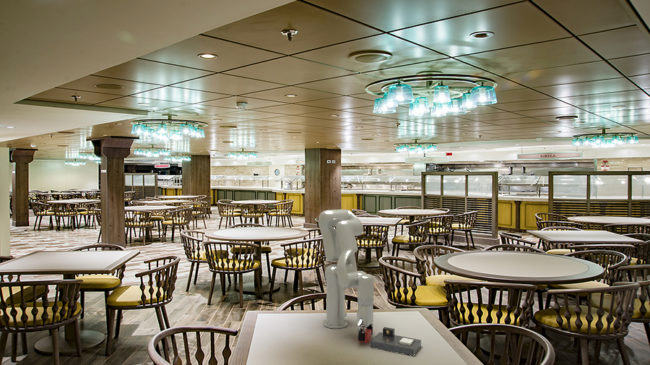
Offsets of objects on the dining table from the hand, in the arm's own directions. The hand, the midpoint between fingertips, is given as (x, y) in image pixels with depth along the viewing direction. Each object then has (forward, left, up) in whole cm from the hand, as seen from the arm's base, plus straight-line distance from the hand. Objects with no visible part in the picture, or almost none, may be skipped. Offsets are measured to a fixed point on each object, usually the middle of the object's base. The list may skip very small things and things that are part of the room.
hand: (365, 337), depth 200 cm
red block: (0, 0, -2) cm, 2 cm away
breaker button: (0, +20, -1) cm, 20 cm away
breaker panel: (0, +15, -2) cm, 15 cm away
